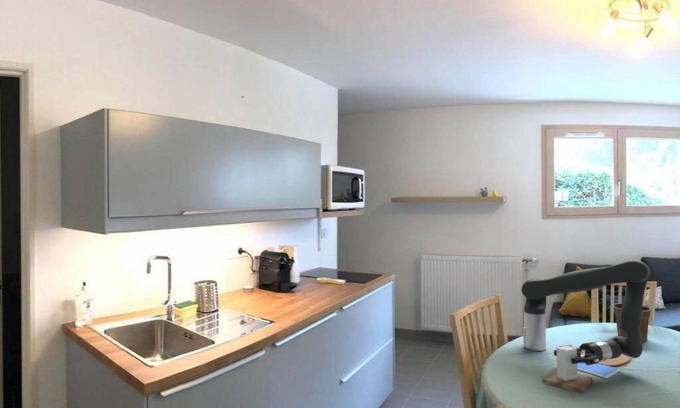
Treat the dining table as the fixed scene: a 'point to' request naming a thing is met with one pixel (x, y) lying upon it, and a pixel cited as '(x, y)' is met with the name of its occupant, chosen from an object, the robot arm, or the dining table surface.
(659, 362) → the dining table surface
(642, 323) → the plant pot
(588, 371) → the tablet computer
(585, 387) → the walnut board
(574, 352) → the skincare box
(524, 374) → the dining table surface
